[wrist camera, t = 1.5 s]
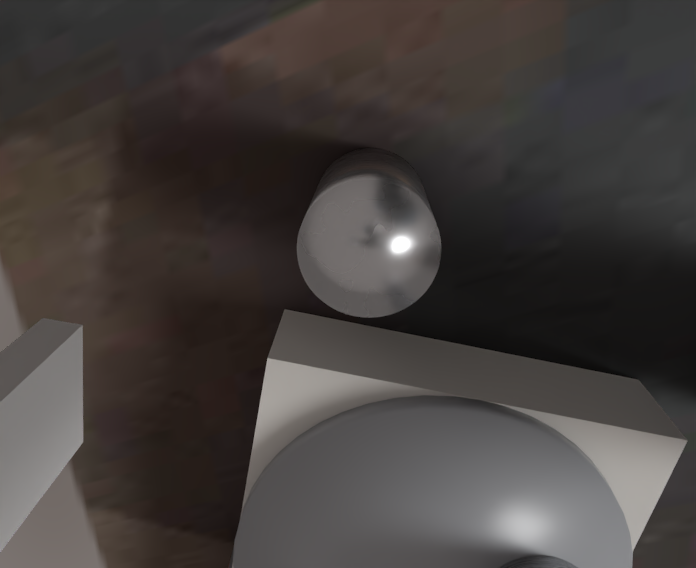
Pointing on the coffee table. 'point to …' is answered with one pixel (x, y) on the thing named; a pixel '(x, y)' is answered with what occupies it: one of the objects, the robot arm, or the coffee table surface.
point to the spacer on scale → (538, 562)
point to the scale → (443, 455)
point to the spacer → (369, 235)
